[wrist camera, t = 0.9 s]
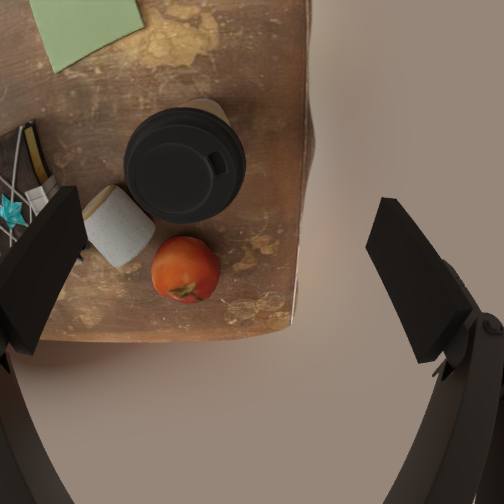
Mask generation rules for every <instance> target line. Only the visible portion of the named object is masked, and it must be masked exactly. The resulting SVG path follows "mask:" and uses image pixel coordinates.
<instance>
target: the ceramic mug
mask: <svg viewBox="0 0 504 504" xmlns="http://www.w3.org/2000/svg"><path fill="white" fill-rule="evenodd" d="M82 215H83V219H84V224H85V228H86V232H87V236H88V240H89V241H90V242H91V243H92V244H93V245H94V246H95V247H96V248H97V249H98V251H99V252H100V253H101V254H102V255H103V256H104V257H105V258H106V259H107V260H108V262H109V263H110V264H111V265H112V266H114V267H115V268H117V267H121V266H123V265H125V264H127V263H128V262H129V261H131V260H132V259H133V258H134V257H136V256H137V255H138V254H139V253H140V252H141V251H142V250H143V248H144V247H145V246H146V245H147V244H148V242H149V241H150V239H151V238H152V236H153V234H154V232H155V228H156V226H155V224H154V223H153V222H152V221H151V220H150V219H149V218H148V216H147V215H146V214H145V213H144V212H143V211H142V210H141V209H140V208H139V207H138V206H137V205H136V204H135V203H134V202H133V201H132V200H131V198H130V197H129V196H128V195H127V194H126V193H125V192H124V191H123V190H122V189H121V188H120V187H118V186H117V185H114V184H112V185H108V186H107V187H106V188H104V189H103V190H102V191H101V192H100V193H99V194H98V195H97V196H95V197H94V198H93V199H92V200H91V201H90V202H89V203H88V205H87V206H86V207H85V208H84V209H83V210H82Z"/></svg>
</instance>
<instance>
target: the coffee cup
mask: <svg viewBox="0 0 504 504" xmlns="http://www.w3.org/2000/svg"><path fill="white" fill-rule="evenodd" d="M245 170H246V159H245V153H244V149H243V146H242V144H241V142H240V140H239V138H238V136H237V135H236V133H235V132H234V131H233V129H232V128H231V125H230V123H229V120H228V119H227V117H226V115H225V113H224V111H223V109H222V108H221V107H220V105H219V104H217V103H216V102H215V101H213V100H211V99H207V98H198V99H194V100H191V101H189V102H187V103H184V104H181V105H179V106H178V107H176V108H170V109H166V110H163V111H160V112H158V113H156V114H154V115H152V116H150V117H149V118H148V119H146V120H145V121H144V122H143V123H141V124H140V125H139V126H138V128H137V129H136V130H135V131H134V133H133V134H132V136H131V138H130V140H129V142H128V145H127V148H126V151H125V156H124V175H125V179H126V183H127V185H128V188H129V190H130V192H131V193H132V195H133V196H134V198H135V199H136V201H137V202H138V203H139V205H140V206H141V207H142V208H143V209H144V210H146V211H147V212H148V213H150V214H151V215H153V216H154V217H156V218H158V219H161V220H163V221H167V222H170V223H176V224H190V223H196V222H200V221H203V220H205V219H208V218H210V217H213V216H215V215H217V214H218V213H220V212H221V211H223V210H224V209H225V208H226V207H228V206H229V205H230V204H231V202H232V201H233V200H234V199H235V197H236V196H237V194H238V192H239V190H240V188H241V185H242V183H243V180H244V177H245Z"/></svg>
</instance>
